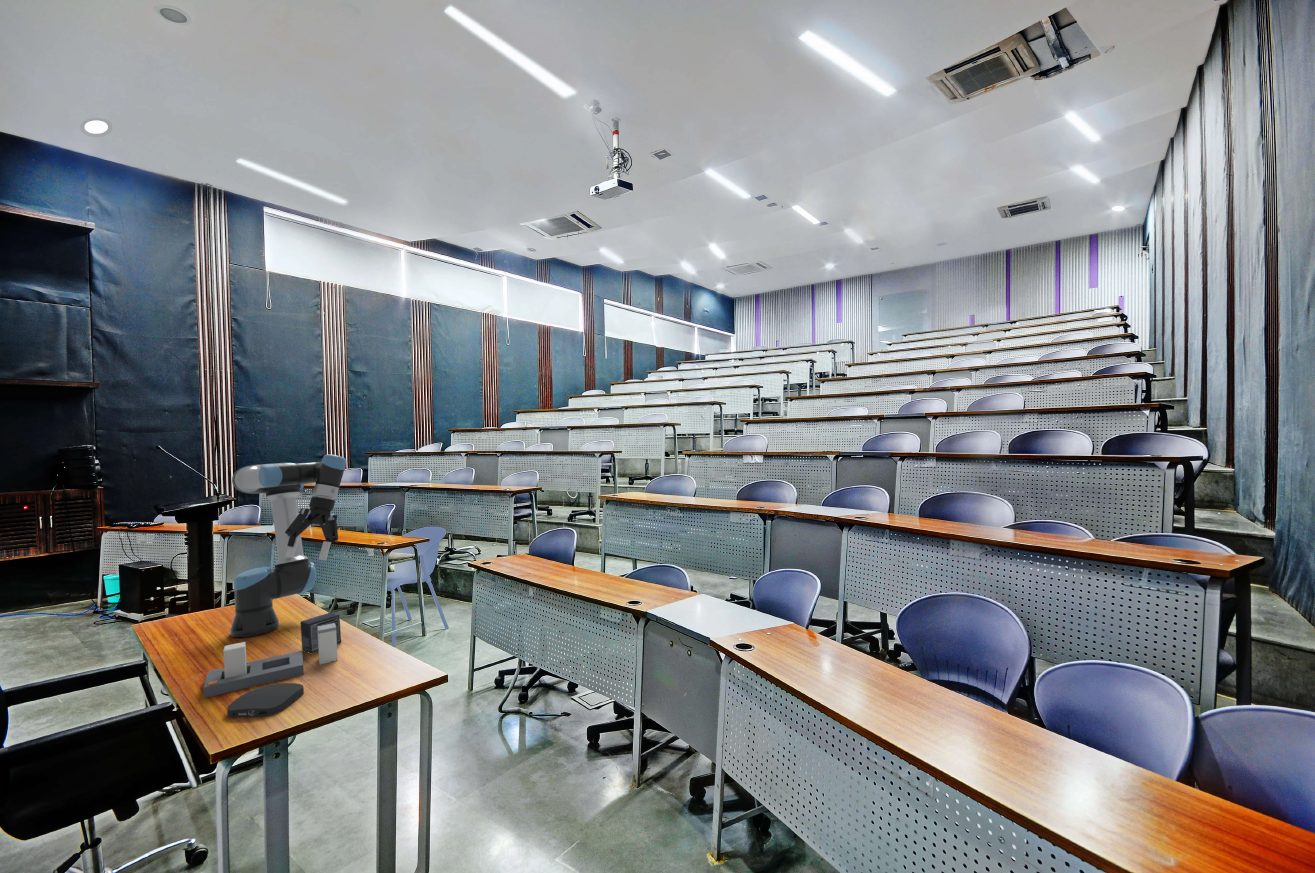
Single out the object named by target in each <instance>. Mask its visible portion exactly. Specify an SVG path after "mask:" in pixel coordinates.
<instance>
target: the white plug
mask: <svg viewBox="0 0 1315 873" xmlns="http://www.w3.org/2000/svg"><path fill="white" fill-rule="evenodd" d="M317 629H318V651H317V653H318V662H319V665H323V664H328V663H332V662H331V661H333V662H337V661H338V644H337V636H336V625H335V623H332V624H327V625H322V626H317ZM336 660H337V661H336Z"/></svg>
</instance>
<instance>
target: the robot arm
mask: <svg viewBox="0 0 1315 873" xmlns="http://www.w3.org/2000/svg"><path fill="white" fill-rule="evenodd" d="M346 465H347V458H345V457H343V456H339V455H336V454H325V455H323V458H322V459H321V461H316V462H315V461H314V462H302V463H293V462H280V463H279V462H278V463H276V462H275V463H265V464H263V463H262V464H252V465H246V466H243V467H241V468H239V469H238V470H237V469H236V471H235V472H234V474H233V475H232V477H231V483H232V486H233V487H234V488H235V490H237V491H239V492H241V493H244V494H251V495H252V494H253V495H254V494H255V495H256V494H265V497H266V499H268V500H269V501H270V502H271V507H272V508H271V510H272V511H271V512H272V518H273V528H274V535H275V543H276V544H275V545H276V551H277V552H276V553H277V561H276V562H275V563H274V568H273V569H272V568H271V567H270V566H261V567H255V568H251V569H247V570H246V571H243V572H241V573H239V574H237V575H236V576H235V577H234V581H233V583H234V584H233V591H234V593H233V594H234V609H235V611H234V612H235V613H234V618H233V621H232V624H231V626H230V637H231V638H235V637H237V639H238V637H243V638H251V637H256V636H260V635H259V634H261V635H263V633H264V634H267V633H270V632H272V630H273V631H275V630H277V629H278V628H279V626H280V621H279V617H278V615H277V613H276V611H275V609H274V607H273V600H277V599H282V598H286V597H289V596H294V595H300V594H303V593H306V592H309V591H310V590H312V588H313V587H314V586H315V583H316V581H317V580H316V578H317V569H316V567H315V566H316V565H315V563H314V562H312V561H309V557H307V556H305V555H304V550H303V549H304V548H303V541H302V533H303V532H304V531H306V530H307V529H308V528H309V527H311V525H314V524H315V525H318V526H320V527H321V531H322V534H323V536H324V539H325V541H323V542H322V546H321V549H320V552H319V556H318V561H319V560H320V561H324V562H325V561H327V559H328V555H329V552H330V551H331V549H332V545H333V543H335V542H338V541H339V532H338V523H337V521H338V519H337V518H338V514H336V513H335V514H334V513H331V511H333V510H334V507H335V505H336V504H335V503H336V499H337V496H338V493H339V489H340V486H341V482H342V479H343V476H344V473H345V470H346ZM305 484H314V487H313V490H312V497H311V498H310V501H309V504H308V506H309V508H300V511H299V509H298V508H299V507H298V501H297V497H298V496H299V495H300V493H301V491H300V490H303V488H304V487H305ZM274 629H275V630H274ZM250 636H251V637H250Z"/></svg>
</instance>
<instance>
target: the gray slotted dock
mask: <svg viewBox="0 0 1315 873" xmlns="http://www.w3.org/2000/svg"><path fill="white" fill-rule="evenodd" d="M246 646H247V645H246V641H243V642H238V643H232V644H228V645H224V648H223V667H220V668H217V669H211V670H208V671H207V675H206V679H205V682H204V684H203V687H202V688H203V699H206V698H210V697H215V696H218V695H222V694H227V693H231V692H236V691H239V690H244V689H248V688H251V687H252V688H253V687H257V686H259V685H265V684H268V683H274V682H277V681H281V680H285V679H290V678H294V677H298V676H303V675H304V674H305V671H304V659H303V651H302V650H299V651H294V652H290V653H285V654H280V655H276V656H270V657H267V658H263V659H262V658H261V659H257V660H254V661H248V662H247V650H246V648H247V647H246Z"/></svg>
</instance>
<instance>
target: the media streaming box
mask: <svg viewBox="0 0 1315 873" xmlns="http://www.w3.org/2000/svg"><path fill="white" fill-rule="evenodd" d="M304 693H305V688H304V685H303V684H301V683H297V682H296V683H295V682H281V683H273V684H267V685H264V686H261V687H258V688H254V689H252V690H249V691H247V692H245V693H243V694H241V695H240V696H239V697H237V698H236V699H235V700H233V701H232V702H231V703H230V704H229V705H228V706H227V708H226V710H227V711H226V712H227V717H228V718H230V719H235V718H236V719H241V718H242V717H244V718H257V717H258V718H259V717H260V718H262V717H267V716H268V717H269V716H271V715H276V714H278V713H281V712H283V711H284V710H285V709H287V708H288V707H290V706H291V705H293V703H295V702H296V701H297V700H298V699H300V698H301V697H302V696H304Z"/></svg>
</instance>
